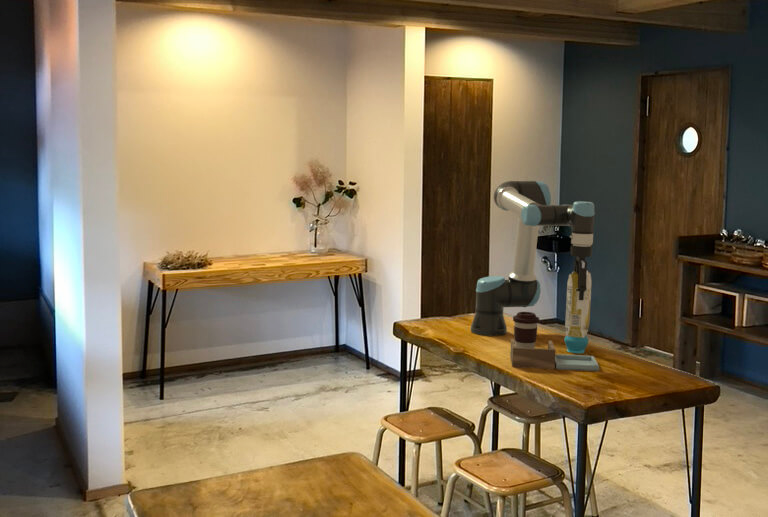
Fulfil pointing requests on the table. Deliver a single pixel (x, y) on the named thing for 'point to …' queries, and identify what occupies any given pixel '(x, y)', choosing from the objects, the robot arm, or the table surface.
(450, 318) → the table surface
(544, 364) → the bay
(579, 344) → the perfume bottle
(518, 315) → the coffee cup
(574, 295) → the juice carton
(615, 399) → the table surface
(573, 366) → the tray
